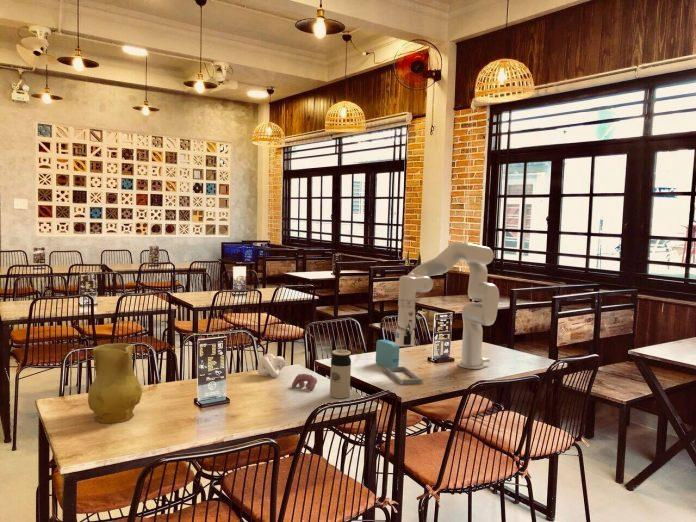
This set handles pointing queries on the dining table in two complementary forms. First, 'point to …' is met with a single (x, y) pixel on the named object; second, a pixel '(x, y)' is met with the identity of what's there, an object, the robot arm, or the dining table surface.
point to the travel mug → (340, 374)
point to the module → (400, 337)
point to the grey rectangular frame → (416, 379)
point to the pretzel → (270, 365)
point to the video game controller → (305, 377)
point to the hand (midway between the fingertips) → (404, 342)
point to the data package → (387, 353)
